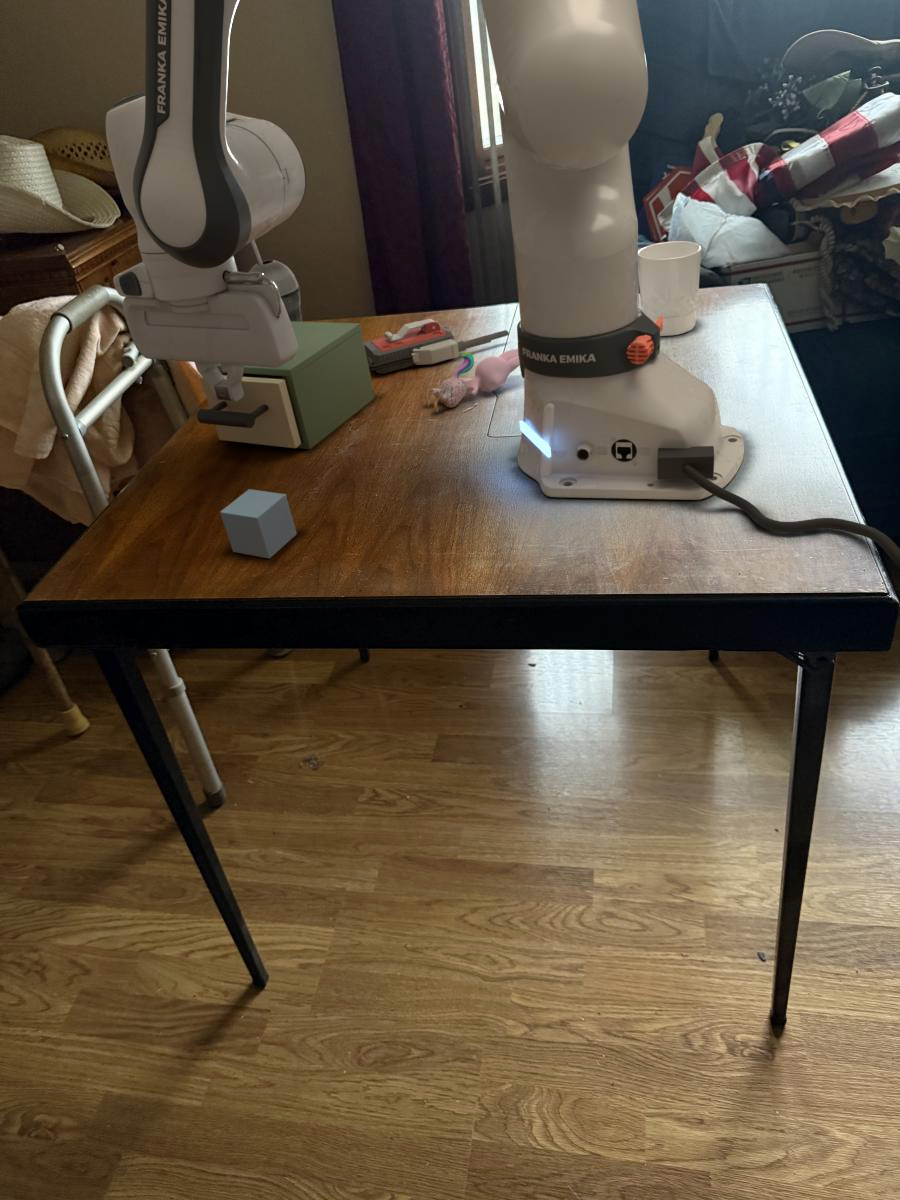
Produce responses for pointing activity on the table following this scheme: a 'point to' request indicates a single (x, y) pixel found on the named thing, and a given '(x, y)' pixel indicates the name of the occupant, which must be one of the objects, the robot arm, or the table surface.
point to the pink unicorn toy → (486, 376)
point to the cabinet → (324, 377)
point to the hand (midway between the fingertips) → (229, 398)
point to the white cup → (670, 284)
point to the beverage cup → (281, 283)
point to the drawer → (255, 412)
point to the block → (258, 523)
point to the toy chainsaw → (418, 346)
